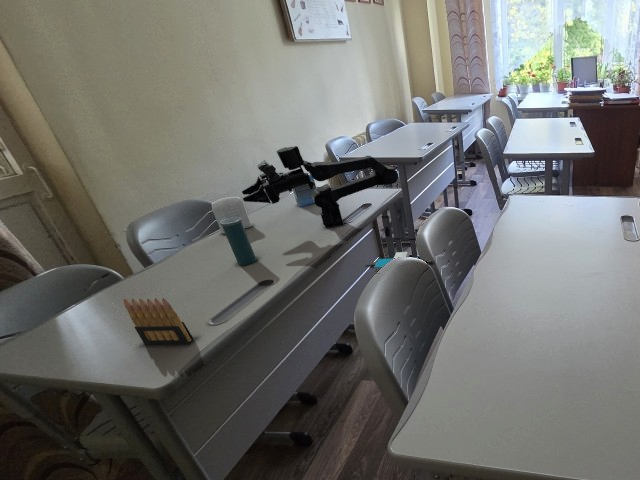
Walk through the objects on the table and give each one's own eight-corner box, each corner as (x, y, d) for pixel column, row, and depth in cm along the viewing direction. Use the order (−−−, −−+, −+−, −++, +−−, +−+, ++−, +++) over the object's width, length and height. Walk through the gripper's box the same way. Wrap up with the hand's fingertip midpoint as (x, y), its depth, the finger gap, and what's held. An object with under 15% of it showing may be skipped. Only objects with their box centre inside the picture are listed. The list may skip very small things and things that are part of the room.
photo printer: (250, 224, 156) (238, 193, 149) (253, 226, 153) (241, 195, 147) (220, 232, 150) (207, 200, 143) (223, 235, 147) (209, 203, 141)
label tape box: (317, 200, 178) (309, 172, 172) (320, 202, 175) (312, 174, 169) (297, 205, 173) (288, 176, 167) (300, 207, 171) (291, 178, 164)
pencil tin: (257, 256, 130) (241, 215, 123) (256, 263, 125) (239, 221, 118) (238, 260, 128) (221, 219, 121) (236, 267, 124) (218, 225, 117)
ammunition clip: (194, 339, 92) (170, 295, 86) (188, 344, 91) (163, 300, 85) (150, 339, 93) (123, 296, 87) (144, 344, 91) (116, 301, 85)
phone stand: (433, 252, 126) (433, 247, 125) (428, 270, 116) (428, 265, 115) (370, 255, 126) (369, 251, 125) (360, 274, 116) (359, 269, 115)
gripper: (276, 153, 140) (229, 167, 135) (282, 163, 126) (229, 179, 121) (291, 183, 147) (246, 197, 141) (298, 195, 133) (249, 212, 127)
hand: (242, 196), depth 132 cm, fingers open, 9 cm apart
